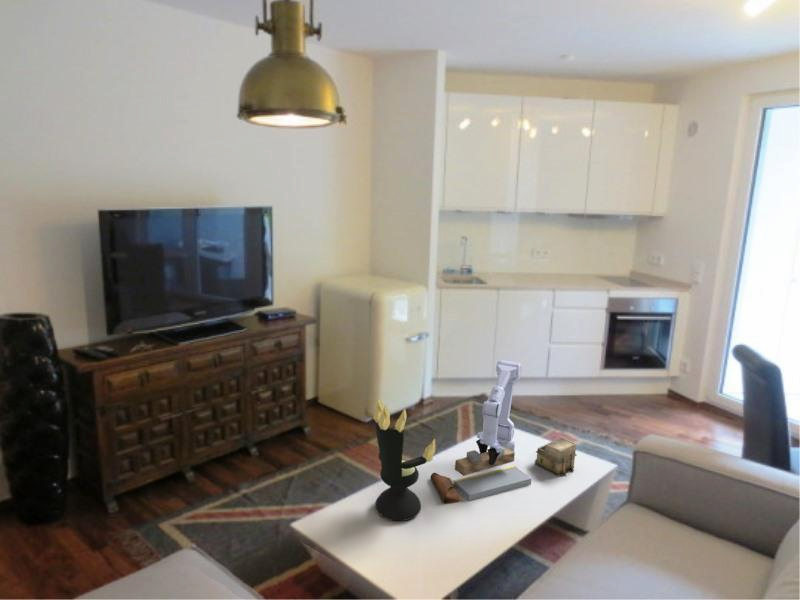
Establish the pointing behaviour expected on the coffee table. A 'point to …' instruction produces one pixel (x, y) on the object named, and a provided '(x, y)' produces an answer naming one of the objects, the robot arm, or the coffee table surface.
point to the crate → (474, 456)
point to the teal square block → (501, 452)
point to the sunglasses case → (446, 489)
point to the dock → (491, 482)
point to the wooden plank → (483, 462)
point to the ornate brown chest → (557, 456)
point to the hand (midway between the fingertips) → (487, 460)
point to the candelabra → (397, 468)
